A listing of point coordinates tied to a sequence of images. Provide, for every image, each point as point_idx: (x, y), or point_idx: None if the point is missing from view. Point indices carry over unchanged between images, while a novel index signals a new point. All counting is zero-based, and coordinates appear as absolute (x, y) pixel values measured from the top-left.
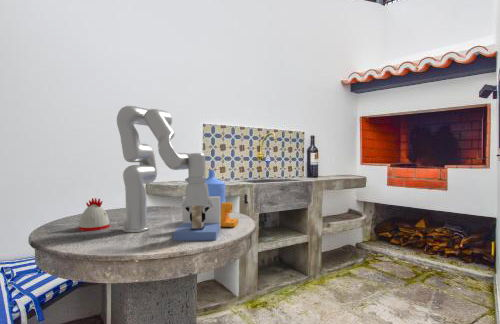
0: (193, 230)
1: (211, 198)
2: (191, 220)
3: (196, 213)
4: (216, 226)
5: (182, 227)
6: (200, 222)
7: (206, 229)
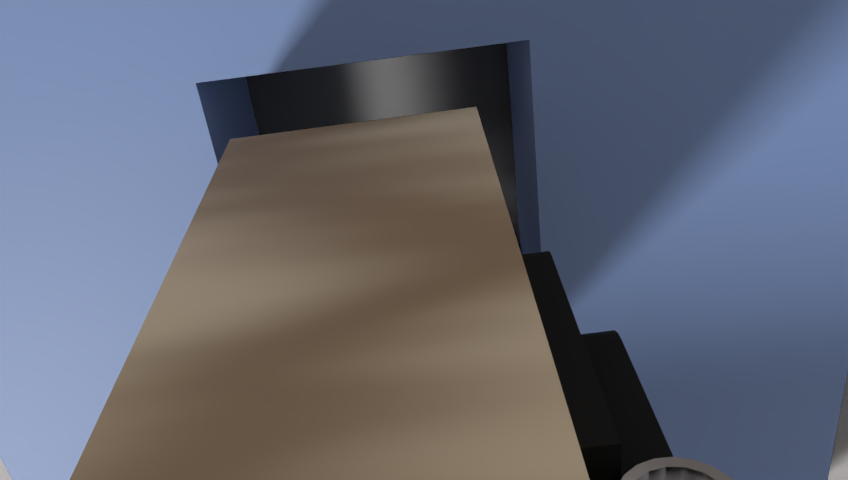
0: (423, 41)
1: None
2: (549, 277)
3: (328, 392)
4: (35, 446)
5: (764, 295)
6: (219, 205)
7: (126, 177)
